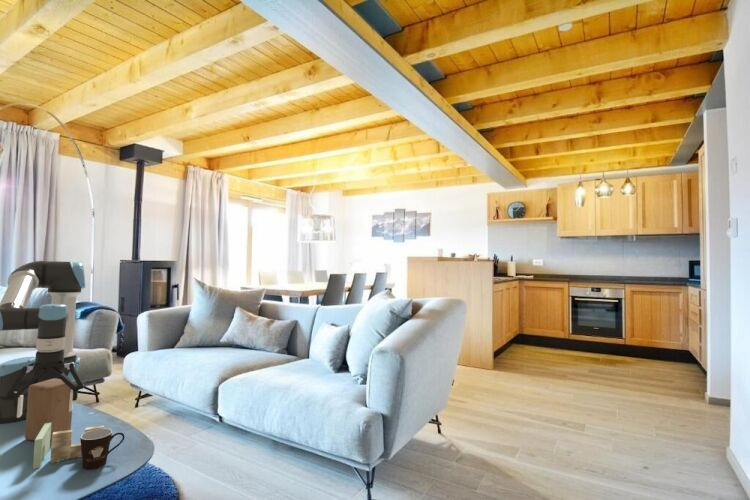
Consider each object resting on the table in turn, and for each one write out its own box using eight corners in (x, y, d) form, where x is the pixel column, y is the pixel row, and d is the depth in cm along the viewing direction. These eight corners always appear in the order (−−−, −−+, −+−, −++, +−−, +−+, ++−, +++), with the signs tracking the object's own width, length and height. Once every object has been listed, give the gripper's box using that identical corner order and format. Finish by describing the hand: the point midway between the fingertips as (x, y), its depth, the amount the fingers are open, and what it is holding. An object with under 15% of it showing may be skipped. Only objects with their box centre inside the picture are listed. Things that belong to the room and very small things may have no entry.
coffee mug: (73, 473, 124) (75, 440, 124) (84, 459, 132) (86, 429, 132) (115, 469, 127) (117, 437, 127) (124, 456, 135) (126, 426, 136)
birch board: (49, 463, 129) (51, 435, 129) (52, 458, 132) (54, 430, 132) (101, 455, 135) (103, 428, 136) (102, 449, 139) (104, 424, 139)
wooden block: (45, 443, 141) (49, 387, 142) (23, 440, 143) (27, 384, 144) (71, 432, 151) (75, 380, 152) (50, 429, 153) (54, 377, 154)
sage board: (43, 449, 137) (44, 423, 138) (49, 448, 138) (51, 422, 139) (32, 468, 125) (34, 439, 126) (40, 467, 126) (42, 438, 126)
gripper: (-3, 355, 125) (-8, 423, 124) (93, 349, 137) (89, 411, 136) (5, 350, 131) (0, 414, 130) (96, 345, 144) (92, 404, 143)
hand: (45, 413), depth 133 cm, fingers open, 13 cm apart
